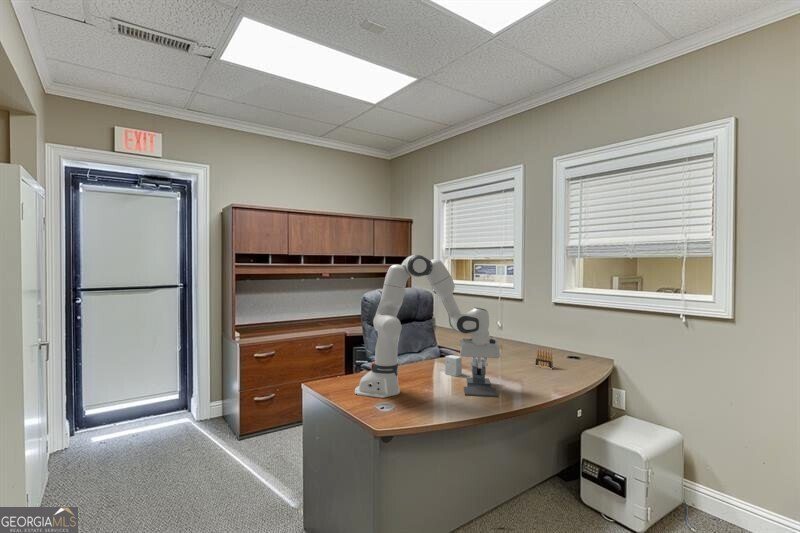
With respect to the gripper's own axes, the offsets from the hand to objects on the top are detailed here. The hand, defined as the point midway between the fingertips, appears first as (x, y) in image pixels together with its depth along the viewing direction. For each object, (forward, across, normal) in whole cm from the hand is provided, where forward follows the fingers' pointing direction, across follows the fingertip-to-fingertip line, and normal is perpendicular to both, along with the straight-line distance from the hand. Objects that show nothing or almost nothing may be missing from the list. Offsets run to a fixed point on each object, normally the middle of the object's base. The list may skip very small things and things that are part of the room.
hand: (479, 365), depth 209 cm
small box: (+12, -13, +24) cm, 30 cm away
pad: (+12, 0, -7) cm, 14 cm away
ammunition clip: (+12, +44, +50) cm, 68 cm away
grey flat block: (+1, 0, +5) cm, 5 cm away
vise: (+12, 0, +7) cm, 14 cm away
